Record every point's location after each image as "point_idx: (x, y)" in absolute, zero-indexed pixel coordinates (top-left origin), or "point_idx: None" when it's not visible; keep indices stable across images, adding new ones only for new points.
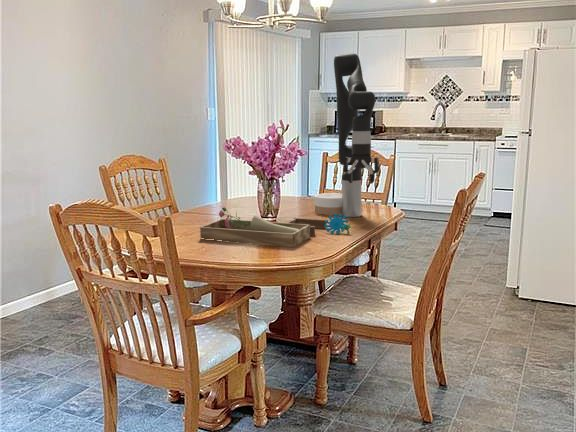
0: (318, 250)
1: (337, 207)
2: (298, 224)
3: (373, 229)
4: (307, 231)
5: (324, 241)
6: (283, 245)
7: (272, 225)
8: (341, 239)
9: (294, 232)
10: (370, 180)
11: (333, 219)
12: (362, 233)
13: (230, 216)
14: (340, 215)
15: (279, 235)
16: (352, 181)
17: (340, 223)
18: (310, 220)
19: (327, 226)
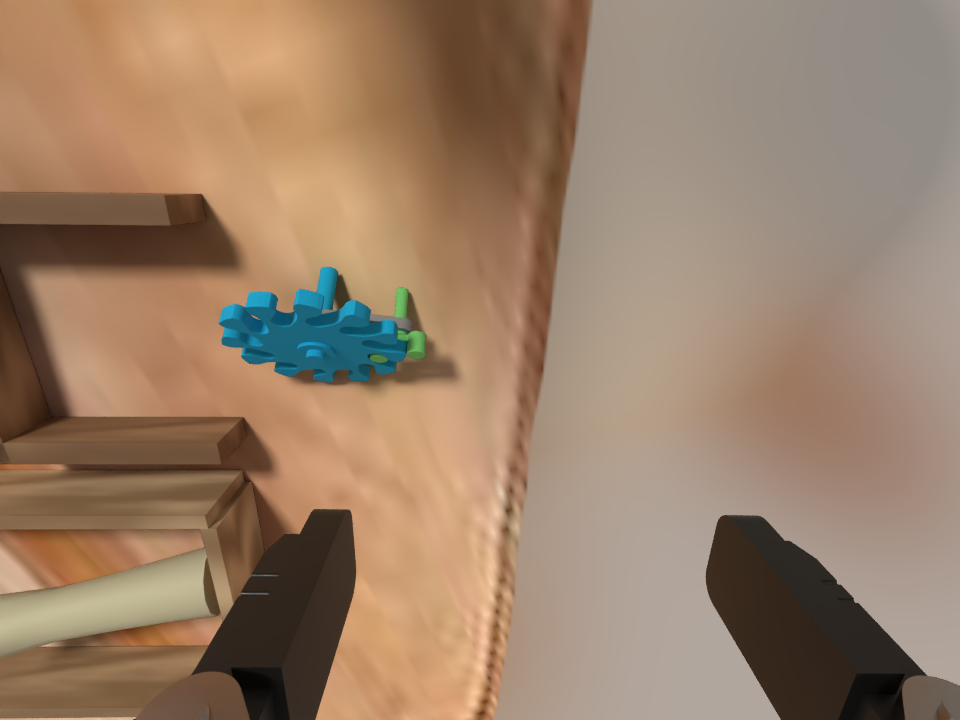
0: (404, 663)
1: None
2: (137, 528)
3: (547, 142)
4: (238, 541)
5: (363, 532)
6: None
7: (47, 643)
8: (429, 473)
9: None
10: (744, 640)
11: (277, 334)
12: (501, 297)
13: None
14: (313, 315)
15: None
16: (344, 516)
17: (350, 349)
18: (46, 223)
19: (269, 359)
